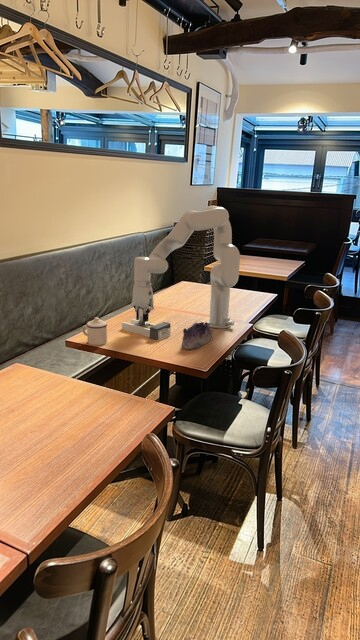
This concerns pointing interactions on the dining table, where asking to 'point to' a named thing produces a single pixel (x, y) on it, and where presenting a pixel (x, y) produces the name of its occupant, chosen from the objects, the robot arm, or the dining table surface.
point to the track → (154, 332)
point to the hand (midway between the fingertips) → (142, 320)
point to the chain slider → (141, 323)
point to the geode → (196, 336)
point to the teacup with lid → (96, 332)
